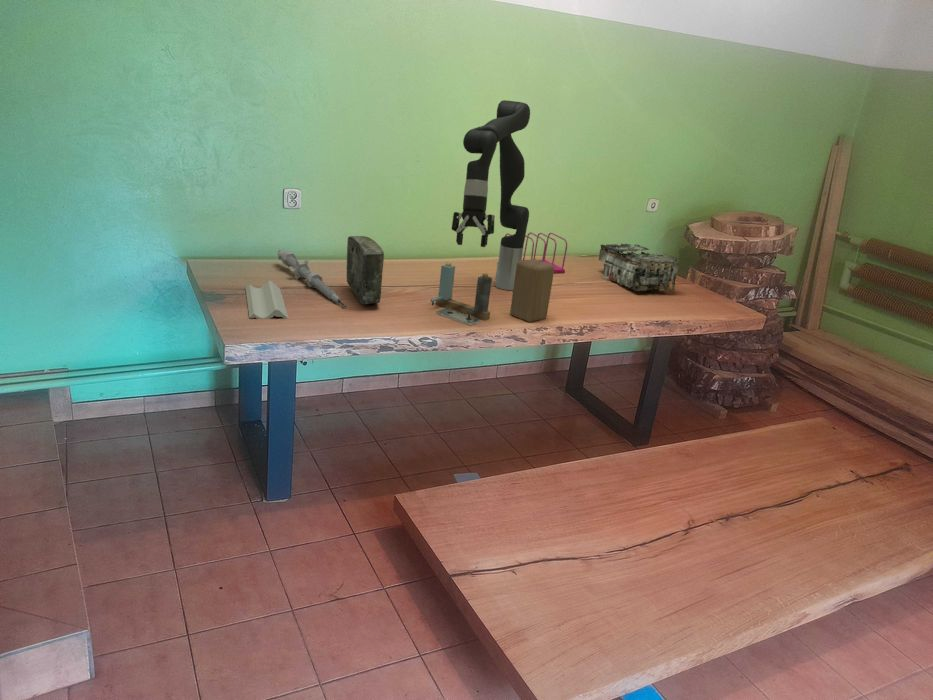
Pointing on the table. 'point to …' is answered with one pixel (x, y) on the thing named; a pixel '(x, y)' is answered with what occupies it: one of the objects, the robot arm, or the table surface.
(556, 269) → the file sorter
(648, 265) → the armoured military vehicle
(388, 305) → the table surface
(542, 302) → the block
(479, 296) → the dark grey l-shaped piece
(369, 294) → the concrete block
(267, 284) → the crown molding
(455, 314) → the grey flat plate
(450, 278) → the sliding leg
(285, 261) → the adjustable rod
